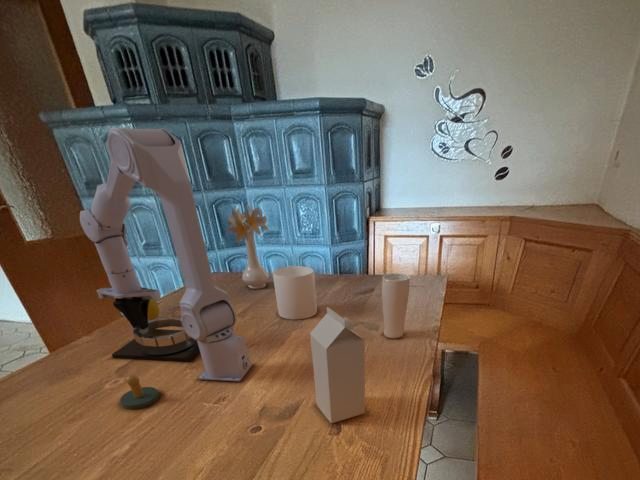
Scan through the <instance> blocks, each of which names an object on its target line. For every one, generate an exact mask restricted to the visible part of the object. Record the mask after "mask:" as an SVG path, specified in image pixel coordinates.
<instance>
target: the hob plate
mask: <svg viewBox="0 0 640 480" xmlns="http://www.w3.org/2000/svg"><path fill="white" fill-rule="evenodd" d="M182 330H183V329H165V328H164V329H161V328H157V329H154V330H151V331H148V332H147V333H145V334H144V335H145V336H156V337H157V336H165V335H171V334H174V333H177V332H180V331H182ZM200 354H201V353H200V350H199V346H198V343H197V340H195V339H193V338H192V337H190V338H189V339H187V340H186V341H183V342H180V343H177V344H173V345H168V346H160V347H159V346H157V347H154V346H144V345H141V344H139V343H138V342H136V341H135V338H134V339H132V340H130V341H129V342H128V343H126V344H125V345H123V346H121V347H120V348H118V349H117V350H116V351H114V352H113V353H111V356H112V358H113V359H122V360H123V359H124V360H142V361H143V360H144V361H160V362H161V361H163V362H182V363H191V362H192V361H194V359H196V357H197V356H199V355H200Z"/></svg>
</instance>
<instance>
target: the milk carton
mask: <svg viewBox="0 0 640 480" xmlns="http://www.w3.org/2000/svg"><path fill="white" fill-rule="evenodd" d="M355 326H356V323H354V322H353V321H352V320H350V319H349V318H347V317H346V316H345V317H343V316H341V315H340V314H338V313H337V312H336V311H334V310H332V309H331V308H330V307H329V306H326V314H325V315H324V316H323V317H322V319H321V320H320V321H319V322H318V323H317V324H316V326H315V327H314V328H313V329H312V330H311V332H309V337H310V347H311V349H310V350H311V358H312V369H313V380H314V389H315V402H316V407H317V408H318V409H319V410H320V412H321V413H322V414H323V415H324V417H325V419H327V420H328V422H329V423H330V424H334V423H337V422H341V421H345V420H348V419H350V418H354V417H357V416H360V415H364V414H366V341H365V339H364V338H363V337H362V336H361V335H359V334H358V333H357V332H355V331H354V330H353V329H354V327H355Z"/></svg>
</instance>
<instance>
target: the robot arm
mask: <svg viewBox="0 0 640 480" xmlns="http://www.w3.org/2000/svg"><path fill="white" fill-rule="evenodd" d="M105 145H106V149H107V152H108V155H109V157H110V160H111V161H110V164H109V170H108V174H107V180H106V183H101V184H97V185H96V191H95V194H94V195H93V200H92V203H91V205H90V208H89V209H85V210H81V211H80V212H79V222H80V226H81V228H82V230H83V232H84V234H85V235H86V237H87V238H88V239H89V240H90V241H91V242H93V243H94V245H95V248H96V251H97V254H98V256H99V258H100V261H101V264H102V266H103V269H104V271H105V274H106V276H107V279H108V282H109V284H110V287H101V288H99V289H97V290H96V291H95V292H96V293H97V296H98V298H99V300H100V299H102V300H103V299H115V300H114V301H112V305H113V307H114V308H116V309H117V310H118V311H119V312H120V313H121V314H122V315H123V316H124V318H126V320H127V321H128V322H129V324H130V325H131V327H132V328H133V329H134V328H135V327H136V326H138V325H139V326H140V328H141V329H143V330H144V329H146V328H147V327H148V321H149V319H148V305H149V301H150V299H152V300H154V301H156V302H157V301H159V300H160V299H161V298H162V296H161V294H160V293H161V292H160V291H159V289H153V288H149V287H144V286H143V287H142V286H140V282H139V279H138V277H137V274H136V271H135V268H134V265H133V262H132V259H131V256H130V254H129V253H130V252H129V251H128V248H127V247H128V244H129V242H128V240H127V228H126V225H125V223H124V222H125V220H126V218H127V216H128V213H129V211H130V209H131V200H130V198H129V197H128V196H129V195H130V192H131V191H132V189H133V187H134V186H135V184H136V183H138V184H140V185H141V186H143V187H145V188H148V189H150V190H152V191H153V192H154V193H155V194H156V195H157V196H158V197H159V199H160V202H161V205H162V208H163V212H164V216H165V219H166V222H167V227H168V230H169V234H170V238H171V240H172V244H173V248H174V251H175V254H176V258H177V261H178V265H179V268H180V272H181V276H182V280H183V282H184V286H185V292H183V293H184V294H183V295H182V297H181V299H180V301H179V302H178V304H179V308H180V311H181V315H180V316H181V317H180V318H181V321H182V325H183V327H182V328H183V329H184V330H185V331H186V333H187V334H188V335H189V336H190V337H192V338H193V339H195V340H197V343H198V346H199V350H200V353H199V354H200V356H201V360H202V363H203V367H204V371H203V372H202V373H201V374H200V375H199V376H198V379H199V380H205V381H223V382H237V383H238V382H241V381H242V380H243V378H244V377H245V376H246V374H247V373H248V372H249V370H250V369H251V368H252V366H253V363H251V360H250V355H249V349H248V345H247V342H246V341H247V340H246V339H245V337H244V336H242V335H240V334H239V335H238V334H236V333H233V332H234V331H235V330H234V326H235V325H236V323H237V319H238V318H237V313H236V310H235V308H234V305H233V304H232V302H231V298H230V295H229V293H228V292H226V291H225V290H223V289H221V288H220V287H218V286H216V285H215V281H214V277H213V274H212V269H211V264H210V260H209V257H208V251H207V248H206V244H205V239H204V236H203V235H204V234H203V232H202V226H201V224H200V218H199V215H198V211H197V207H196V206H197V205H196V202H195V199H194V194H193V190H192V185H191V181H190V176H189V171H188V168H187V163H186V160H185V155H184V152H183V146H182V142H180V141H179V140H178V138H177V137H175V136H174V135H173V134H172V132H171V131H169V130H168V129H167V128H163V127H158V128H127V127H125V128H123V127H119V126H113V127H111V128H110V129H109V130H108V134H107V140H106V142H105Z"/></svg>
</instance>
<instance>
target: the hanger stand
mask: <svg viewBox="0 0 640 480" xmlns="http://www.w3.org/2000/svg"><path fill="white" fill-rule="evenodd" d="M125 381H126V384H127V385H129V388H130V390H129V391H127V392H125V393H123V395H122V396H121V397H120V399H119V402H120V405H121V406H122V407H123V408H125V409H127V410H140V409H144V408H147V407H149V406H152V405H154V404H155V403H157V402H158V400H159V399H160V393H159V390H158V389H156V388H155V387H152V386H142V385H141V383H140V378H139V377H138V376H137V375H136V374H129V375H127V377H126V380H125Z"/></svg>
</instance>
